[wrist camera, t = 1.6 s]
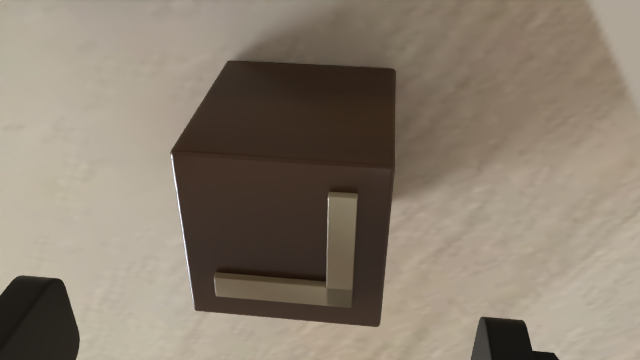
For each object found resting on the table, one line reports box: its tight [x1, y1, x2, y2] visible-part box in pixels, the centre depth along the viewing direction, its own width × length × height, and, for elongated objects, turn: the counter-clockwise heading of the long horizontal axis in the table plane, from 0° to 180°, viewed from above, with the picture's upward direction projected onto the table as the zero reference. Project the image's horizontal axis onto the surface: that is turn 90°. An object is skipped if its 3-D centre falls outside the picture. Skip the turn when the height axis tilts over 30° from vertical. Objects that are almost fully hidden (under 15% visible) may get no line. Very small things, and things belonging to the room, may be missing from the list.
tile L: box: [171, 61, 396, 327], centre depth 15 cm, size 5×5×5 cm
